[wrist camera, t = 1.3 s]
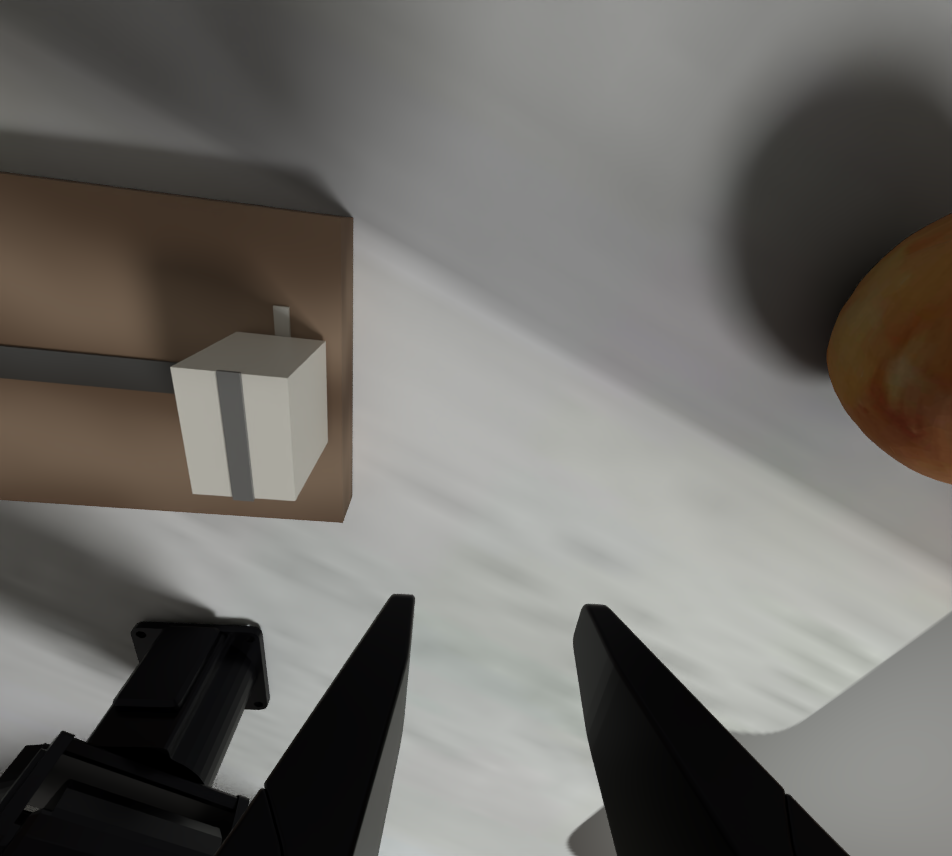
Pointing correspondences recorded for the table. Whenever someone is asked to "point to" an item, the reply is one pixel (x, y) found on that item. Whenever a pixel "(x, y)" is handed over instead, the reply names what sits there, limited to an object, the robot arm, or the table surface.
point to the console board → (154, 337)
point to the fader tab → (253, 415)
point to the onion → (901, 352)
